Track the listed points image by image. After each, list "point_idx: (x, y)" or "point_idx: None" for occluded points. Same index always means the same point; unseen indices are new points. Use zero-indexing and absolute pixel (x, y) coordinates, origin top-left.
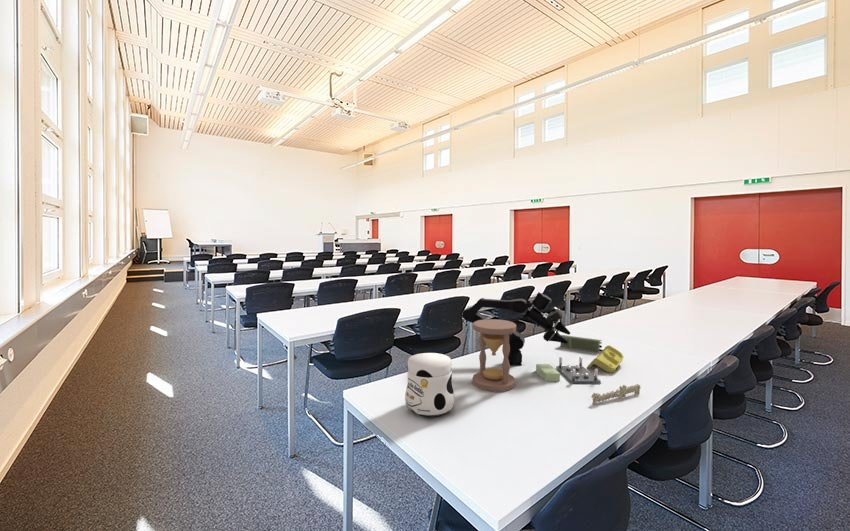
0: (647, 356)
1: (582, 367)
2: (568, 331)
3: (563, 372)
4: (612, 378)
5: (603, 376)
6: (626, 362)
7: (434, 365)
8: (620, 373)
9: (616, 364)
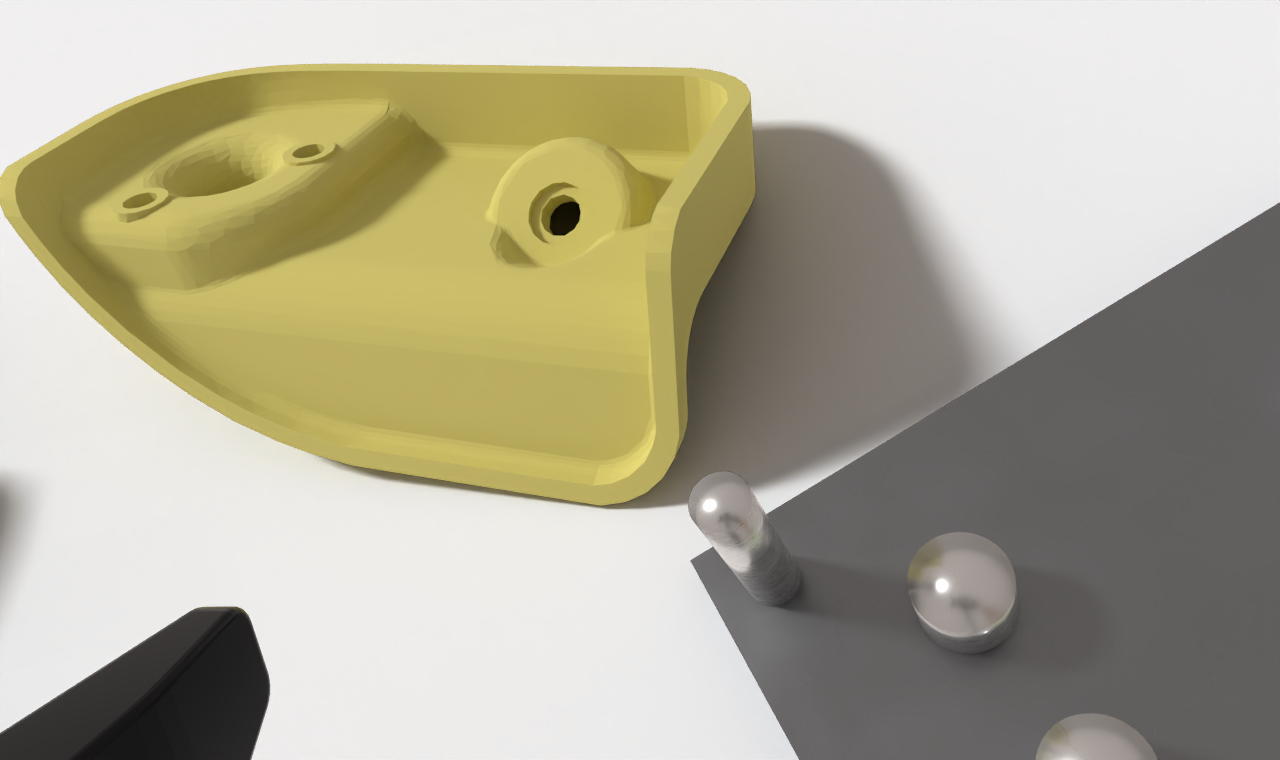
0: (7, 39)
1: (788, 540)
2: (173, 679)
3: None
4: (978, 103)
5: (964, 211)
6: None
7: None
8: None
9: (423, 156)
